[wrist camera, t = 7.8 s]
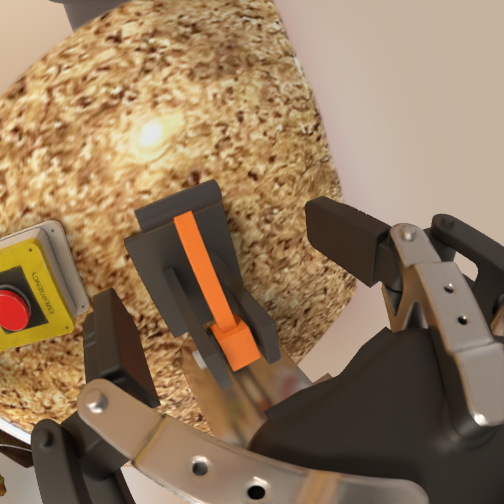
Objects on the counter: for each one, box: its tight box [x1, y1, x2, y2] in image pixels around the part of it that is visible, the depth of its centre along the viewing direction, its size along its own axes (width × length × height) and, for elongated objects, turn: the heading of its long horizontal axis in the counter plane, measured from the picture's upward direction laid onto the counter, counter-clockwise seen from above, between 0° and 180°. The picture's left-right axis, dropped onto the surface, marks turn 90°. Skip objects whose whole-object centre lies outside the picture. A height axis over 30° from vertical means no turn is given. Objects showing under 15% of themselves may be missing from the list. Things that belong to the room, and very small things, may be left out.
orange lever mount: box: [124, 202, 281, 390], centre depth 21 cm, size 12×9×12 cm
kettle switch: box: [134, 179, 261, 371], centre depth 17 cm, size 12×5×2 cm, turn 12°
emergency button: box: [0, 220, 90, 351], centre depth 15 cm, size 9×4×15 cm
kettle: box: [179, 314, 333, 449], centre depth 28 cm, size 14×14×17 cm
